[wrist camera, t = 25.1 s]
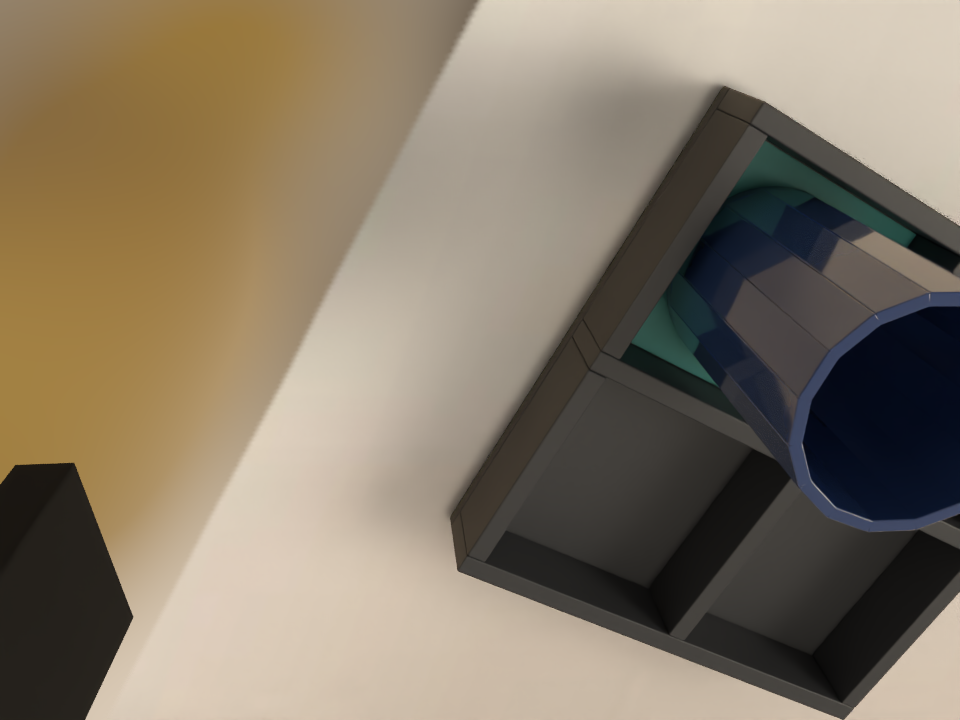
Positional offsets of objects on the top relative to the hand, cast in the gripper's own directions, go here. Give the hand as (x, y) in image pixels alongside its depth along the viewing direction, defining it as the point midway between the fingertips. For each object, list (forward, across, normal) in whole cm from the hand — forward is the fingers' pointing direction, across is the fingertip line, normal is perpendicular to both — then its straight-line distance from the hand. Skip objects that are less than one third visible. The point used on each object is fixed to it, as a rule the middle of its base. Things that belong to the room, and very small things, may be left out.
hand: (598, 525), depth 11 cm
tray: (+22, +9, -14) cm, 28 cm away
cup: (+22, +8, -8) cm, 25 cm away
